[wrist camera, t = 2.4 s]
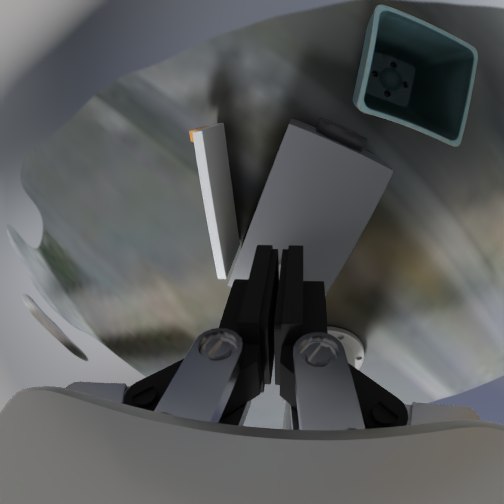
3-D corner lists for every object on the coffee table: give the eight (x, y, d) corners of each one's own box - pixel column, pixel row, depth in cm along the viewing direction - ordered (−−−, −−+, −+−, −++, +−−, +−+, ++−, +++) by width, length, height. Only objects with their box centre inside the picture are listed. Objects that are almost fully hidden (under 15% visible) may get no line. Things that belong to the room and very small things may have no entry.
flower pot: (435, 57, 21) (480, 49, 13) (419, 133, 25) (460, 150, 17) (355, 27, 21) (376, 1, 13) (339, 106, 25) (355, 110, 18)
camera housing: (311, 277, 35) (312, 320, 29) (240, 250, 35) (226, 289, 28) (379, 143, 26) (402, 159, 20) (295, 106, 26) (294, 109, 20)
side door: (239, 244, 34) (226, 278, 28) (224, 244, 35) (208, 278, 28) (223, 122, 28) (201, 130, 22) (206, 124, 28) (180, 134, 22)
